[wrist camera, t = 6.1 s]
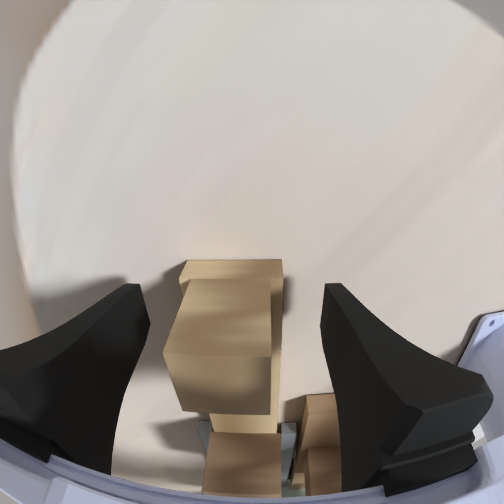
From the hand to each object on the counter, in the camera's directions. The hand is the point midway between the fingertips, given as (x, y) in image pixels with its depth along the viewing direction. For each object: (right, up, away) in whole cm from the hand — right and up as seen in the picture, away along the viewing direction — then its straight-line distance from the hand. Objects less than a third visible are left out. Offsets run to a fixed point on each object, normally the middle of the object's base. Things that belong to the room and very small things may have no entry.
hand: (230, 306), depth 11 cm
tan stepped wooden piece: (0, -5, +5) cm, 7 cm away
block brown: (+6, -11, +7) cm, 14 cm away
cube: (0, -12, +6) cm, 13 cm away
